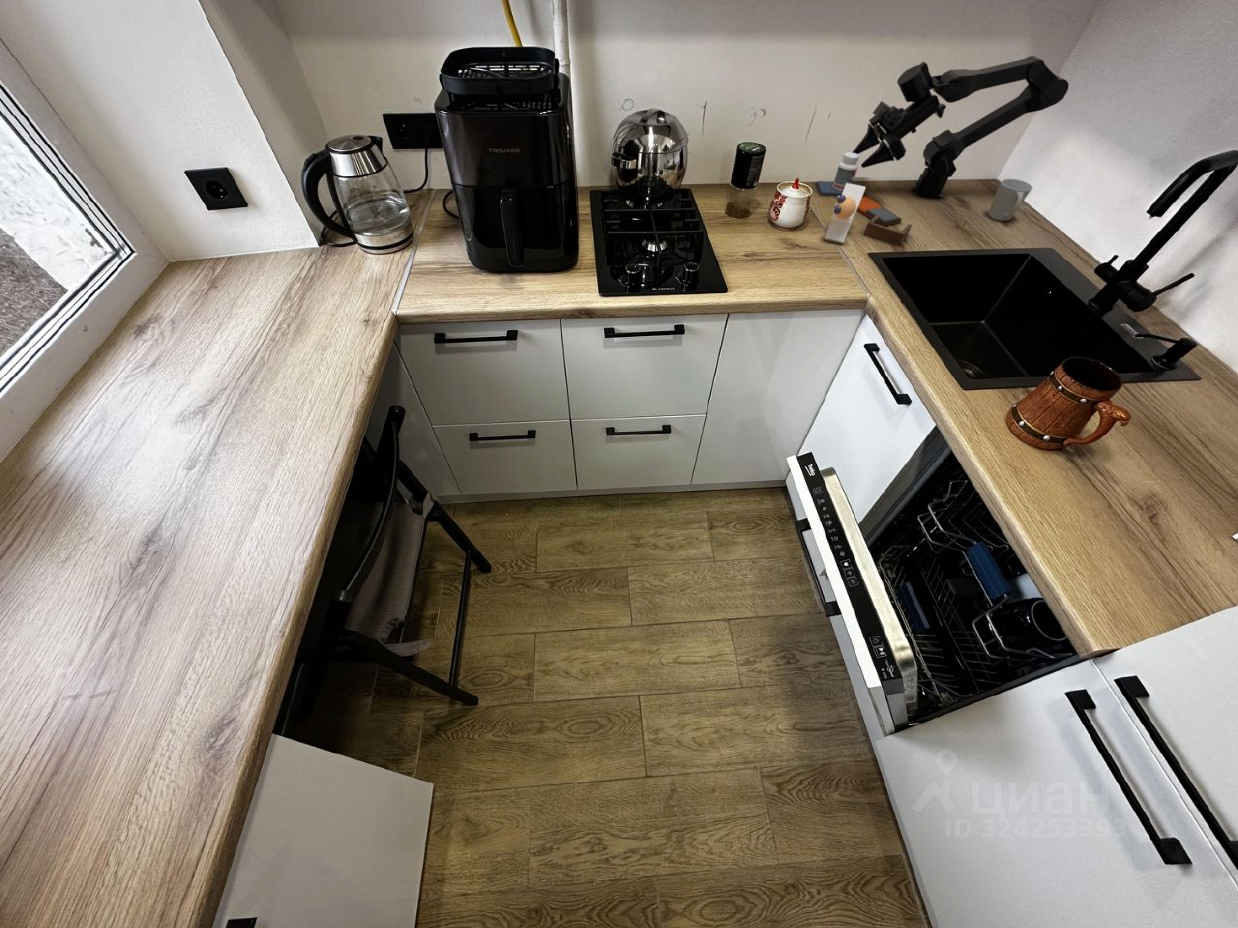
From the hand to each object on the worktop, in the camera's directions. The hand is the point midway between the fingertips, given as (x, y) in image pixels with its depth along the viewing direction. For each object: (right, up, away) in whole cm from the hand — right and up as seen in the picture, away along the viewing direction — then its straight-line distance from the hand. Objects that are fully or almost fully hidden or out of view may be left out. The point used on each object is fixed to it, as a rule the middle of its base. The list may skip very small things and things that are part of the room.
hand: (857, 160), depth 149 cm
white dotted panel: (-10, -26, -10) cm, 29 cm away
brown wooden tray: (+3, -26, -11) cm, 28 cm away
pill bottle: (-2, -5, +6) cm, 8 cm away
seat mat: (-2, -5, +6) cm, 9 cm away
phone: (+3, -17, -3) cm, 17 cm away
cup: (+38, -18, -3) cm, 42 cm away
